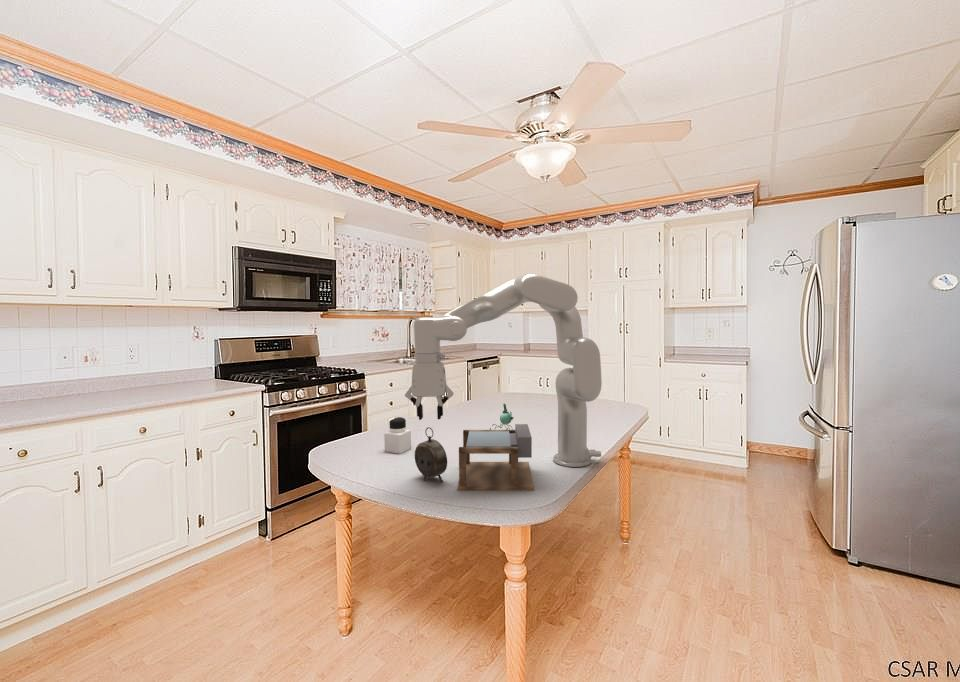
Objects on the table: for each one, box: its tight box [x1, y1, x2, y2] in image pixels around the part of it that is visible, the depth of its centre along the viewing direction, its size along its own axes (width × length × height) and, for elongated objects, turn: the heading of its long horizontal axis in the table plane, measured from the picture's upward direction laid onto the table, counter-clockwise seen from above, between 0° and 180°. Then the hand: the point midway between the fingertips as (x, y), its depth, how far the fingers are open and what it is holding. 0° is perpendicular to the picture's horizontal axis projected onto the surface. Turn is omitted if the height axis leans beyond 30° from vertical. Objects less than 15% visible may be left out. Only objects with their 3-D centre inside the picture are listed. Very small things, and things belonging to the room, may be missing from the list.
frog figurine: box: [489, 403, 515, 430], centre depth 181 cm, size 10×18×15 cm, turn 101°
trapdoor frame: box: [456, 429, 535, 491], centre depth 138 cm, size 22×21×12 cm
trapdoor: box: [466, 423, 533, 459], centre depth 137 cm, size 19×16×6 cm
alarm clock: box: [414, 426, 448, 483], centre depth 135 cm, size 11×5×16 cm, turn 47°
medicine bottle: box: [383, 416, 412, 455], centre depth 165 cm, size 7×7×12 cm
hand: (430, 417), depth 134 cm, fingers open, 4 cm apart
